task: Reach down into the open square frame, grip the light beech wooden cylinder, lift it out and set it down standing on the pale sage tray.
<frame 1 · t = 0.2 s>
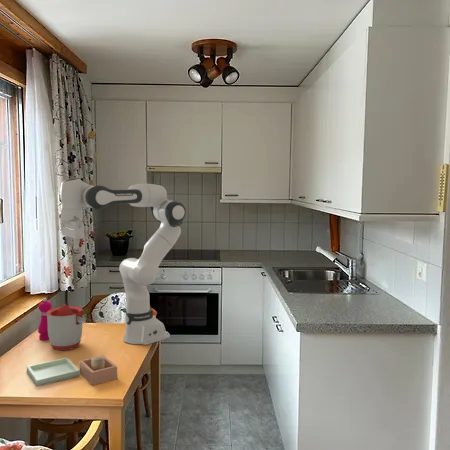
hand: (72, 247, 197), 48 cm above the table, tool pointing down, fingers open, 8 cm apart
pepper mill: (46, 338, 220), on the table
tray: (53, 373, 180), on the table
beech cylinder: (98, 367, 178), in the open square frame
open square frame: (98, 375, 178), on the table
citrus juicer: (67, 347, 210), on the table
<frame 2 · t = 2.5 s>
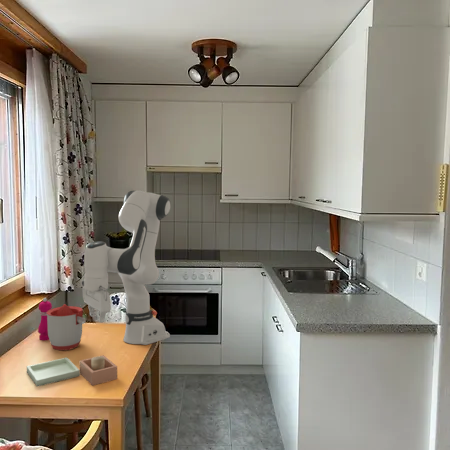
hand: (96, 319, 176), 23 cm above the table, tool pointing down, fingers open, 8 cm apart
nothing on the table moved.
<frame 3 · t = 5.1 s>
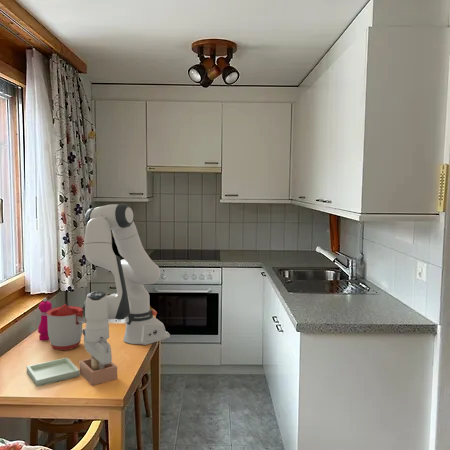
hand: (98, 368, 178), 3 cm above the table, tool pointing down, fingers closed on beech cylinder, 5 cm apart
beech cylinder: (98, 367, 178), in the open square frame, touching gripper
everything else where it was.
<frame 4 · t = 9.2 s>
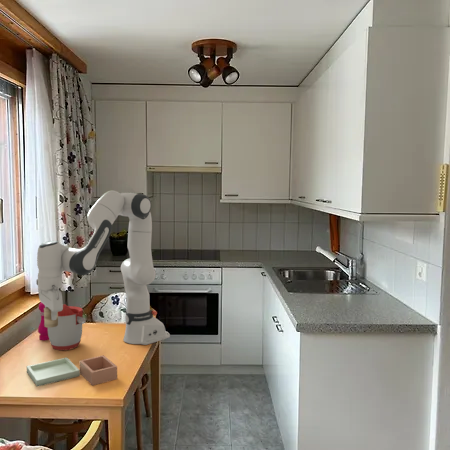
hand: (51, 317, 178), 23 cm above the table, tool pointing down, fingers closed on beech cylinder, 5 cm apart
beech cylinder: (51, 316, 178), point 23 cm above the table, touching gripper
everything else where it was.
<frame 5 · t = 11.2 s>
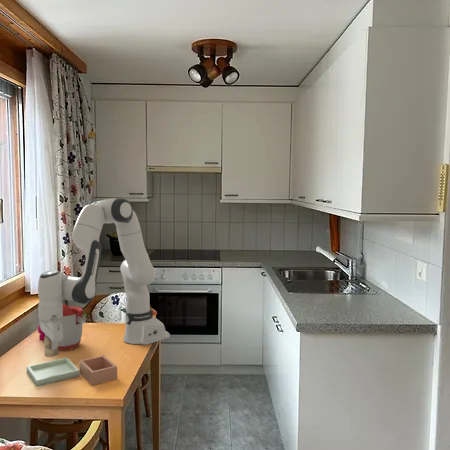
hand: (51, 346, 179), 11 cm above the table, tool pointing down, fingers closed on beech cylinder, 5 cm apart
beech cylinder: (51, 345, 179), point 12 cm above the table, touching gripper
everything else where it was.
when the fingers open (5 cm above the table, at t = 13.2 s): beech cylinder drops 1 cm, resting on tray.
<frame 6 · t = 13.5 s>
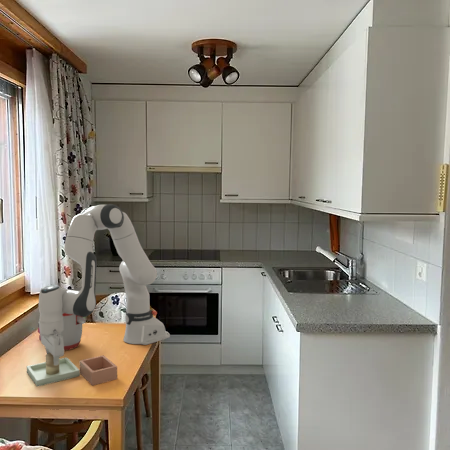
hand: (52, 360, 179), 5 cm above the table, tool pointing down, fingers open, 8 cm apart
beech cylinder: (52, 363, 179), in the tray, point 4 cm above the table
everything else where it was.
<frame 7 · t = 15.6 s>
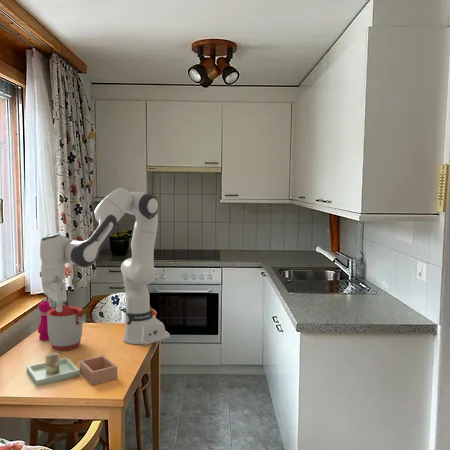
hand: (55, 308, 181), 25 cm above the table, tool pointing down, fingers open, 8 cm apart
nothing on the table moved.
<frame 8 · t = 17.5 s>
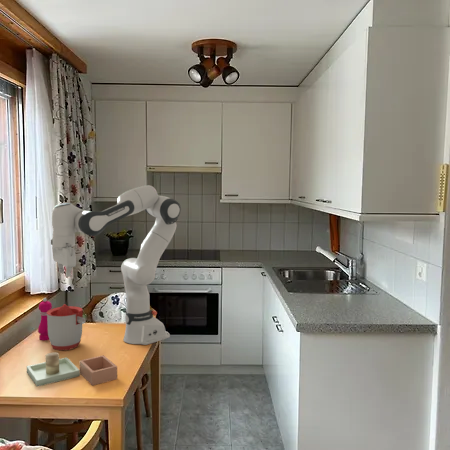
hand: (64, 274, 190), 37 cm above the table, tool pointing down, fingers open, 8 cm apart
nothing on the table moved.
at the end: beech cylinder inside the target area on the tray (0.1 cm from its centre), point 4.4 cm above the tray's base; beech cylinder tilted 1°; the gripper is holding nothing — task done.
